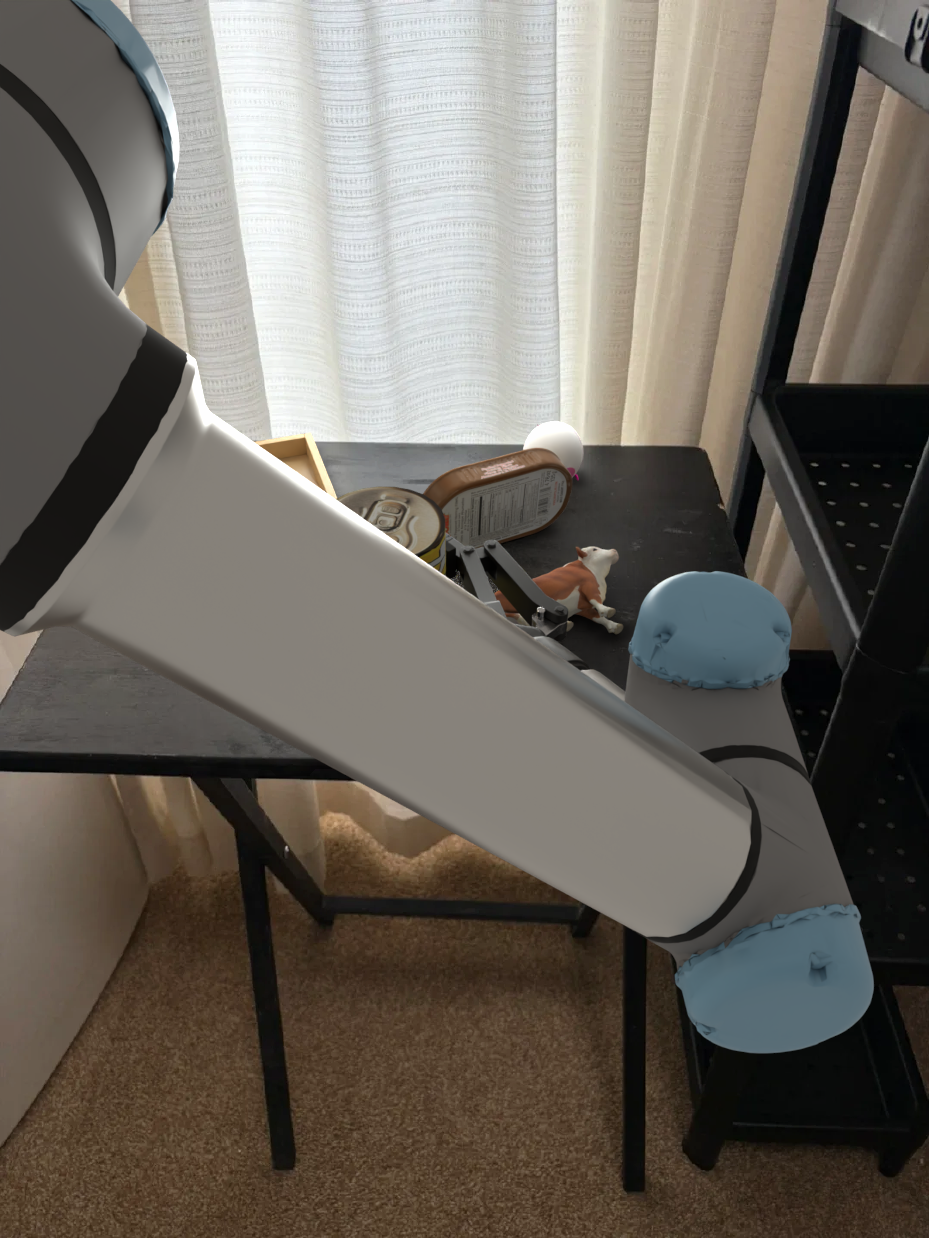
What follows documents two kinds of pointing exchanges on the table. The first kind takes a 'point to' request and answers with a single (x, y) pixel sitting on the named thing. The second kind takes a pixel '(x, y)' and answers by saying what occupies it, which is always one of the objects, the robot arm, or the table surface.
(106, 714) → the table surface
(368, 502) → the beverage can
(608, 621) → the bull figurine
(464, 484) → the tin
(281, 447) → the serving tray
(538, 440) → the stress ball
